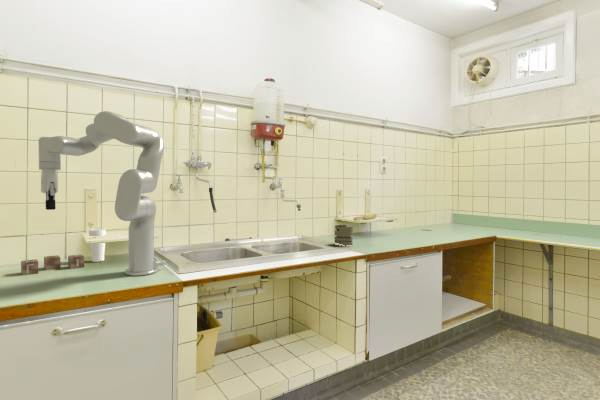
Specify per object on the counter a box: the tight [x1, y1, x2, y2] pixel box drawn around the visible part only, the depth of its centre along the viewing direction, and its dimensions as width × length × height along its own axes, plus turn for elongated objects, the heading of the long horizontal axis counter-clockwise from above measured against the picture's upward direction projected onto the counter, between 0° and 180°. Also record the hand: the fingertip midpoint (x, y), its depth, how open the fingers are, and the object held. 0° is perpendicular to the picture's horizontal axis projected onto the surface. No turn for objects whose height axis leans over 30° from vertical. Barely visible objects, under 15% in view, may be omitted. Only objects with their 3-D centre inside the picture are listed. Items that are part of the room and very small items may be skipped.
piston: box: [333, 224, 354, 246], centre depth 216 cm, size 11×12×11 cm
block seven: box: [20, 259, 39, 276], centre depth 139 cm, size 5×5×5 cm
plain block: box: [43, 255, 61, 271], centre depth 147 cm, size 5×5×5 cm
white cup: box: [88, 228, 107, 263], centre depth 162 cm, size 7×7×15 cm
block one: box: [67, 254, 85, 270], centre depth 150 cm, size 5×5×5 cm
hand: (50, 209), depth 148 cm, fingers closed
